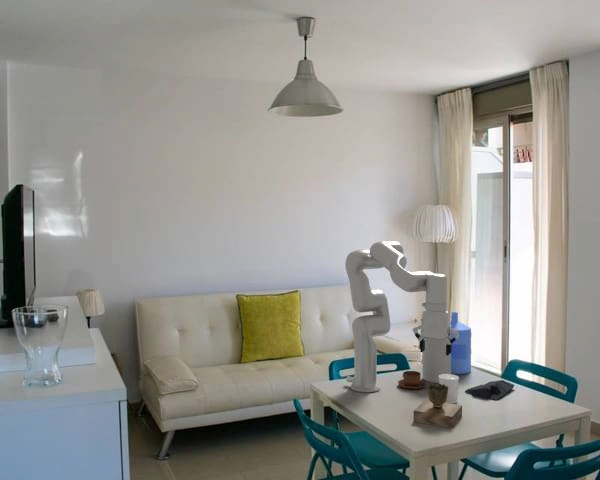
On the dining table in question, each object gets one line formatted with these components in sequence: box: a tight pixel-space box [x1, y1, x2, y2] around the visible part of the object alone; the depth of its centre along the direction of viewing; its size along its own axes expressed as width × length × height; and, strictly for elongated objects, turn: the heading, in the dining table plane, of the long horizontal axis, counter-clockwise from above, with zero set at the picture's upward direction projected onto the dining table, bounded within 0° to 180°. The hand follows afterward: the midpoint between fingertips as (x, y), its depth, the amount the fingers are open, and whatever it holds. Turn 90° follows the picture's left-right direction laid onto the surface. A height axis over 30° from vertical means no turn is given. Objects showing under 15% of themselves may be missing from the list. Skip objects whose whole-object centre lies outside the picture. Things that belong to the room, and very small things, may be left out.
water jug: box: [450, 311, 472, 375], centre depth 278 cm, size 16×16×28 cm
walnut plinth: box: [413, 399, 463, 429], centre depth 211 cm, size 14×14×4 cm
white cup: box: [438, 374, 460, 404], centre depth 231 cm, size 8×8×10 cm
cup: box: [427, 383, 448, 409], centre depth 211 cm, size 8×7×8 cm
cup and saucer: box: [397, 370, 427, 390], centre depth 252 cm, size 12×12×6 cm
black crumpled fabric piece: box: [464, 379, 515, 401], centre depth 244 cm, size 15×22×5 cm
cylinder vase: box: [421, 325, 451, 384], centre depth 262 cm, size 12×12×25 cm
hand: (435, 353), depth 214 cm, fingers open, 9 cm apart
